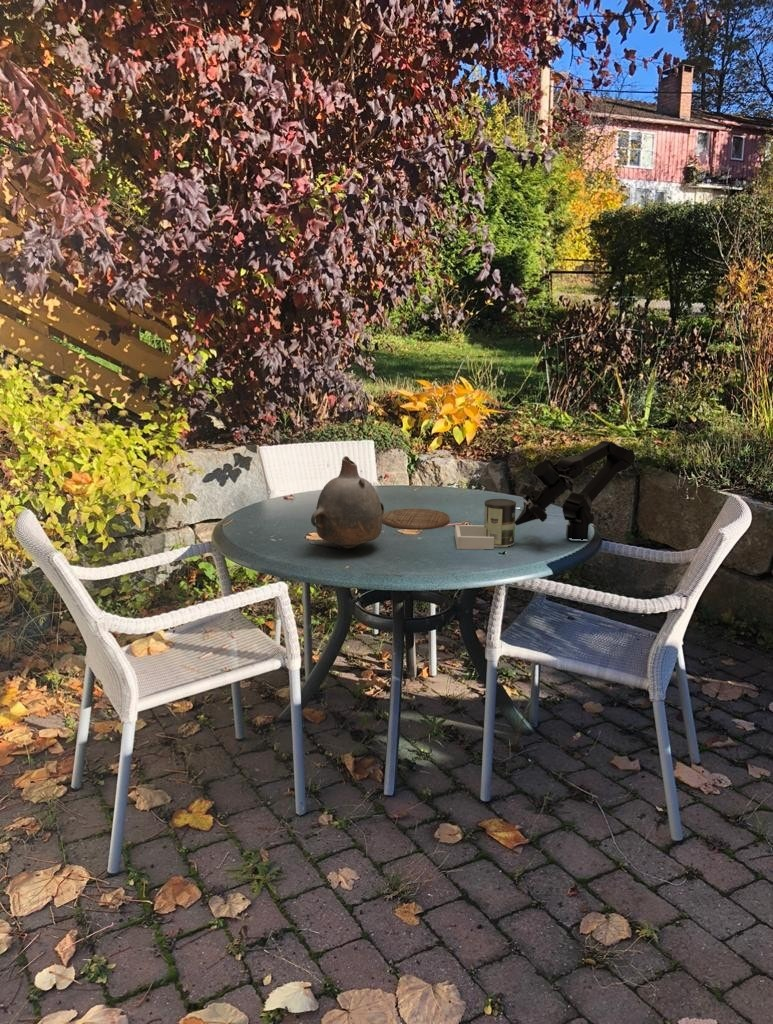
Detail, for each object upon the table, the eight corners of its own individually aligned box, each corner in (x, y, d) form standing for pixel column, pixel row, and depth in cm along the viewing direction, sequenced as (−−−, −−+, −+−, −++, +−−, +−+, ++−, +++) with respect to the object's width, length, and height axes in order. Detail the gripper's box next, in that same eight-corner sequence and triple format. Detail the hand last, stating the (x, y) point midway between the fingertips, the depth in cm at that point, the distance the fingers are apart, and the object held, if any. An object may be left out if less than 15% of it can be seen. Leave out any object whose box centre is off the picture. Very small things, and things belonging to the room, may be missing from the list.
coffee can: (512, 539, 268) (514, 498, 265) (515, 547, 259) (517, 505, 255) (482, 538, 269) (483, 498, 266) (484, 547, 259) (485, 505, 256)
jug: (358, 563, 242) (357, 466, 235) (300, 553, 252) (298, 460, 245) (396, 544, 263) (397, 454, 255) (341, 535, 273) (340, 448, 265)
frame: (489, 536, 271) (490, 525, 270) (493, 549, 257) (494, 537, 256) (455, 536, 272) (455, 525, 271) (456, 549, 257) (457, 537, 256)
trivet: (444, 532, 278) (444, 527, 278) (375, 528, 283) (375, 523, 282) (453, 515, 302) (453, 510, 301) (389, 511, 307) (389, 507, 306)
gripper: (530, 469, 267) (496, 500, 270) (538, 480, 249) (501, 514, 252) (552, 492, 268) (518, 523, 271) (562, 505, 250) (525, 538, 253)
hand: (515, 524), depth 262 cm, fingers closed
